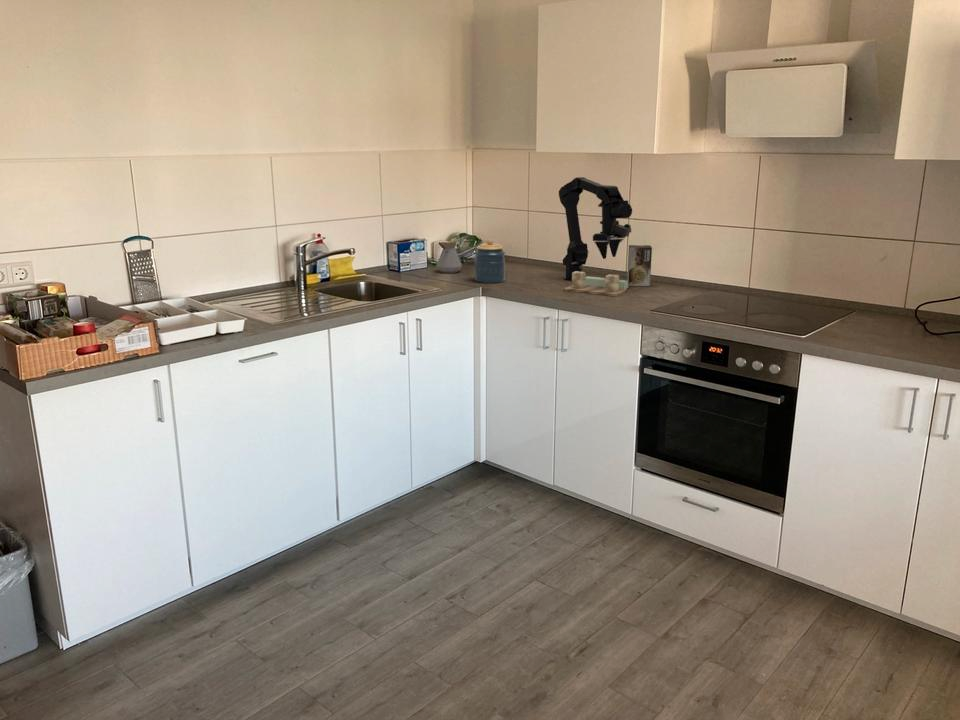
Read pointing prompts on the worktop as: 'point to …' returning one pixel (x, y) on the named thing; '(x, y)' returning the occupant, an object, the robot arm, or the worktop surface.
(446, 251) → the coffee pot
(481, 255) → the canister
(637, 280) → the coffee box
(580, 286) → the birch gate
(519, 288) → the worktop surface
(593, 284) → the sage plank
